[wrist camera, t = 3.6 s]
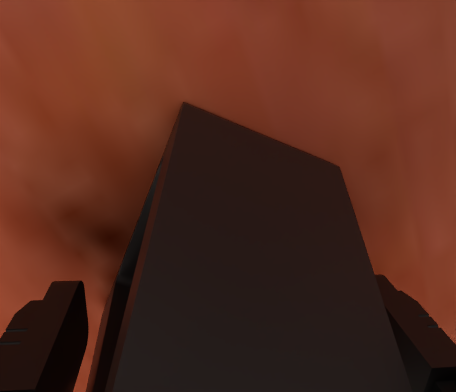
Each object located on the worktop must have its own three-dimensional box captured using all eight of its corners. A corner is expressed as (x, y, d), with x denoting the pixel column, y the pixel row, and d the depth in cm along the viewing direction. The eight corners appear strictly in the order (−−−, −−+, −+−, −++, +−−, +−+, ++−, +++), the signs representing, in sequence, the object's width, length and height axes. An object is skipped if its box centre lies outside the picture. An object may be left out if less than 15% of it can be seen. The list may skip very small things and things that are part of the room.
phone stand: (184, 99, 12) (205, 567, 1) (336, 164, 14) (902, 631, 3) (102, 308, 15) (-99, 1004, 4) (236, 343, 17) (341, 923, 6)
